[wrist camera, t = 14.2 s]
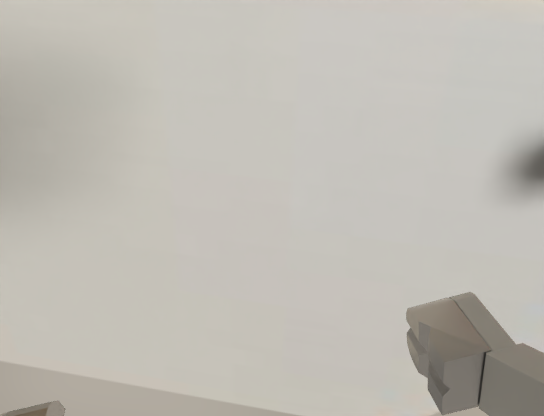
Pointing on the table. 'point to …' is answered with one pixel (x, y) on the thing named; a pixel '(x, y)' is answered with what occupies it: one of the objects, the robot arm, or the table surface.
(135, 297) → the table surface
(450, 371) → the robot arm
